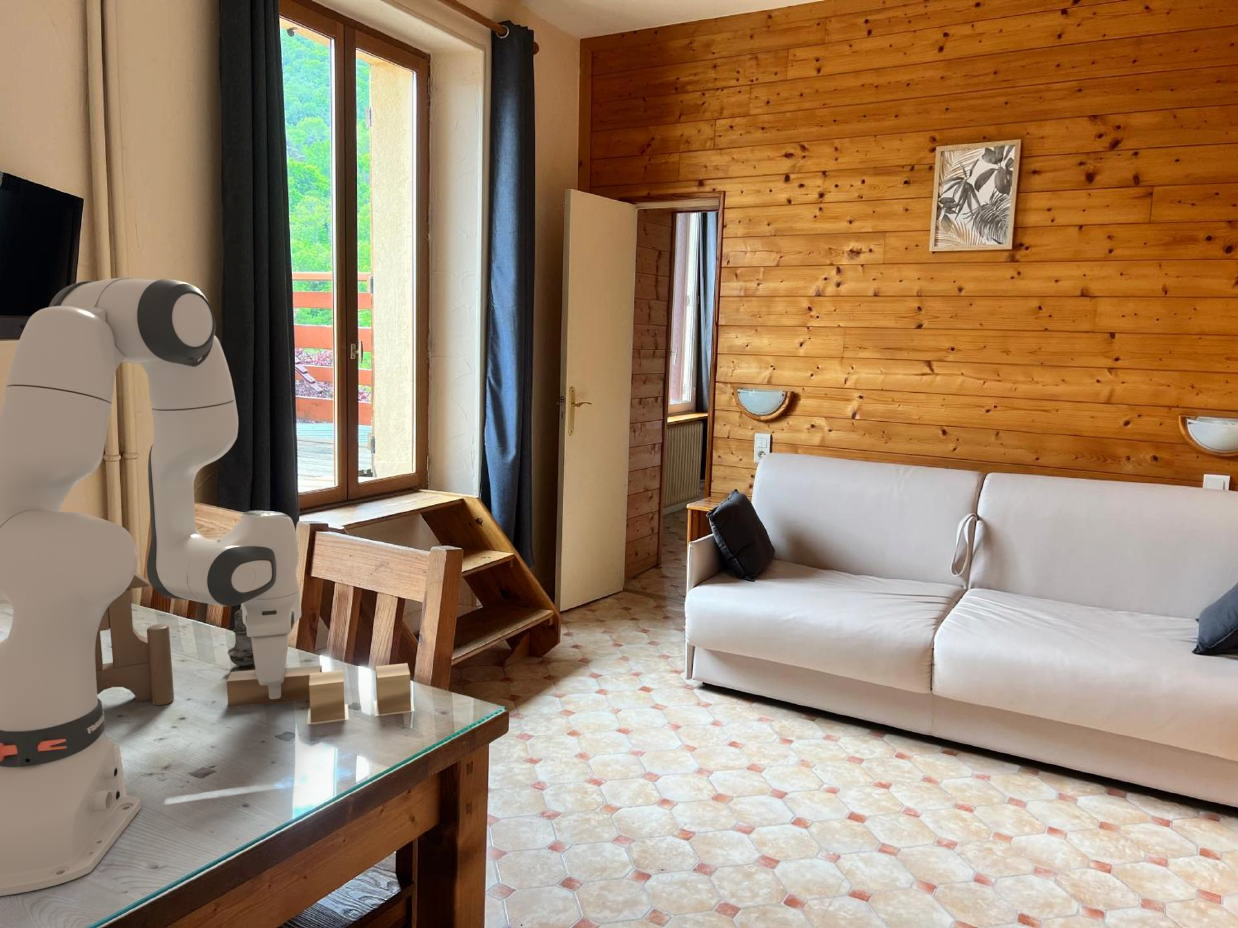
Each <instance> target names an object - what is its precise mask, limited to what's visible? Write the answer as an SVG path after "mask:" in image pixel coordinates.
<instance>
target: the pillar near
mask: <svg viewBox="0 0 1238 928" xmlns="http://www.w3.org/2000/svg"><path fill="white" fill-rule="evenodd" d="M344 683H345V682H344V669H340V670H330V671H322V672H319V673H310V680H309V692H310V700H309V707H310V708H309V709H310V712H311V723H313V722H321V721H329V720H337V719H345V704H346V703H345V686H344V685H345V684H344Z"/></svg>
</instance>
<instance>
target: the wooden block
mask: <svg viewBox="0 0 1238 928" xmlns="http://www.w3.org/2000/svg"><path fill="white" fill-rule="evenodd" d="M319 672H323V666H322V665H310V666H298V667H297V666H294V667H285V676H284V681H283V683H281V697H280V698H279V699H270V698H269V689H268V685H263V686H262V685H260V684H259V682H258V679H257V675H256V670H250V671H236V672H231V671H230V674H229V675H228V678H227V680H226V693H227V694H226V696H227V698H226V699H227V707H228V708H229V707H232V708H233V707H242V706H243V707H244V706H255V705H267V704H268V705H269V704H280V703H283V704H284V703H290V702H293V703H294V702H304V701H306V702H307V701H310V692H309V680H310V673H319Z"/></svg>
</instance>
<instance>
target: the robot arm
mask: <svg viewBox="0 0 1238 928" xmlns="http://www.w3.org/2000/svg"><path fill="white" fill-rule="evenodd" d="M17 342H18V343H17V345H16V347H15V350H14V353H13V356H12V359H11V363H10V366H9V370H8V375H7V378H6V382H5V383H6V384H5V389H4V394H3V399H2V404H1V408H0V602H1V601H2V602H9V603H10V604H11V606H12V613H13V614H12V621H11V625H10V626H11V627H10V631H9V633H8V637H6V638H5V639H3V640H2V641H0V897H2V896H8V895H15V894H22V893H28V892H32V891H37V890H41V889H46V888H51V887H54V886H57V885H60V884H64V883H68V882H70V881H73V880H76V879H78V878H81V877H83V876H85V875H87V874H90V873H91V872H92V871H93V870H94V869H95V868H96V866H97V865H99V863H100V861H101V860H102V859H103V858H104V856H106V853H108V851H109V850H110V848H112V846H113V845H114V843H115V842H116V840H117V839H118V838H119V837H120V836H121V834H122V833H123V832H124V830H125V829H126V828H127V827H128V826H129V824H130V823H131V822H132V821H133V819H134V818H135V816H136V815H138V812H139V811H140V810H141V808H142V803H141V799H140V798H139V797H137V796H133V795H129V794H127V789H126V783H125V776H124V767H123V761H122V756H121V754H122V753H121V748H120V746H119V745H117V744H116V743H115V742H113V741H112V740H110V739H109V738H108V737H107V735H106V734H105V733H104V730H105V728H106V726H105V718H106V717H105V710H104V708H103V702H102V700H101V699H100V698H98V695H97V682H96V663H95V645H96V637H97V632H98V628H99V625H100V622H101V619H102V617H103V615H104V613H105V611H106V609H107V608H108V606H109V605H110V604H111V603H112V602H113V601H114V600H115V599H116V598H117V597H119V596H120V595H121V594H122V593H123V592H124V591H125V590H126V589H127V587H128V586H129V584H130V583H131V581H132V579H133V577H134V574H135V572H137V571H136V570H137V566H138V550H137V546H136V543H135V540H134V538H133V536H132V535H131V533H130V531H128V530H127V529H126V528H125V527H123V526H122V525H120V524H118V523H115V522H112V521H109V520H108V519H107V520H106V519H103V518H100V517H98V516H94V515H91V514H88V513H81V512H80V513H79V512H68V511H61V508H62V506H63V504H64V502H65V500H66V498H67V497H68V495H69V494H70V492H71V491H72V490H73V488H74V487H75V486H77V484H78V483H80V481H83V480H84V479H86V478H88V477H89V476H90V475H92V474H93V473H94V472H96V470H97V469H99V467H100V465H101V463H102V462H103V458H104V457H103V456H104V451H105V447H106V439H107V433H108V426H109V421H110V416H111V410H112V404H113V398H114V391H115V390H114V389H115V381H116V380H115V378H116V377H115V376H116V371H117V369H118V367H119V366H120V365H121V363H128V364H138V365H140V366H141V367H142V368H143V369H144V371H145V373H146V374H147V382H148V393H149V401H150V407H151V413H152V414H151V415H152V422H153V438H152V439H153V441H152V445H151V446H150V449H149V452H148V462H147V473H148V474H147V475H148V476H147V477H148V479H147V480H148V496H149V497H148V498H149V512H150V513H149V514H150V529H151V533H150V534H151V537H150V545H149V551H148V556H147V561H146V576H147V580H148V581H149V585H150V586H151V587H152V589H153V590H154V591H155V592H156V594H159V596H162V597H164V598H167V599H173V600H186V601H193V602H198V603H203V604H209V605H210V604H211V605H215V606H220V607H236V606H239V605H241V606H242V615H243V623H244V624H245V626H246V632H247V637H251V641H252V650H253V656H254V663H255V669H256V675H257V679H258V682H259V684H260V685H262V686H263V685H268V689H269V698H270V699H279V698H280V697H281V683H283V681H284V676H285V668H286V666H287V657H288V648H289V642H290V634H291V633H292V630H293V629H294V626H295V625H296V623H297V621H299V620H300V619H301V618H302V605H301V604H302V602H301V601H302V600H301V599H302V598H301V586H300V582H299V580H298V574H297V573H298V568H299V561H300V560H299V545H298V536H297V531H296V528H295V527H296V526H295V525H294V521H293V519H292V518H291V517H290V516H289V515H288V514H286V513H283V512H280V511H271V510H270V511H269V510H268V511H267V510H248V511H245V512H242V513H241V515H240V519H239V521H238V522H237V523H236V524H235V525H234V527H232V529H231V530H230V531H228V532H227V533H225V534H224V535H223V536H221V537H219V538H217V539H212V538H206V537H204V536H203V535H202V534H201V533H200V532H199V530H198V528H197V525H196V509H195V508H196V507H195V506H196V505H195V489H194V487H195V480H196V476H197V474H198V473H199V471H200V470H201V469H202V468H204V467H205V466H207V465H209V464H211V463H214V462H216V461H217V460H219V459H220V458H222V457H223V456H224V455H225V454H226V453H228V452H229V450H231V448H232V447H233V445H234V444H235V442H236V440H237V438H238V433H239V415H238V408H237V407H238V406H237V402H236V401H237V400H236V395H235V390H234V385H233V380H232V376H231V373H230V370H229V369H230V368H229V365H228V362H227V358H226V356H225V353H224V349H223V347H222V345H221V342H220V340H219V338H218V337H217V336H216V319H215V315H214V311H213V308H212V306H211V304H210V302H209V300H208V299H207V297H206V296H205V294H204V293H203V292H202V291H201V289H200V288H198V287H196V286H195V285H192V284H191V283H188V282H185V281H181V280H176V279H169V278H162V279H158V280H157V279H147V278H145V279H144V278H131V277H119V278H118V277H117V278H107V279H102V280H96V281H93V280H84V281H81V282H77V283H73V284H71V285H67V286H65V287H64V288H63V289H61V290H59V292H58V293H56V294H55V296H54V297H53V298H51V301H50V303H49V305H48V307H45V308H41V309H39V310H37V311H36V312H34V313H33V314H32V315H31V316H30V317H29V318H28V320H27V322H26V324H25V326H24V329H23V331H22V333H21V334H20V337H19V340H18V341H17Z"/></svg>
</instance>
